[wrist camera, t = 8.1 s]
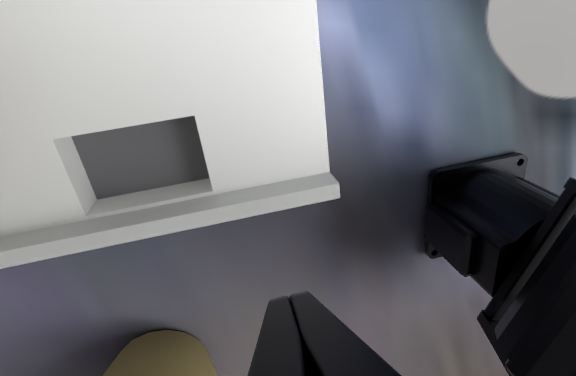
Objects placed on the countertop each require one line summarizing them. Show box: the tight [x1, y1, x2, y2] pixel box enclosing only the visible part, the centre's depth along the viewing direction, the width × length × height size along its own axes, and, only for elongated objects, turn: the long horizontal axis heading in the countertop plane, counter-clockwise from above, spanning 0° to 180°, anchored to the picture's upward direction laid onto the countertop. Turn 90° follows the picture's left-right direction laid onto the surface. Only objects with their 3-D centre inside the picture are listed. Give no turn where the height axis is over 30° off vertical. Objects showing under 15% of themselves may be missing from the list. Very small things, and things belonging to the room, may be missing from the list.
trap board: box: [0, 0, 340, 269], centre depth 13 cm, size 22×16×5 cm
